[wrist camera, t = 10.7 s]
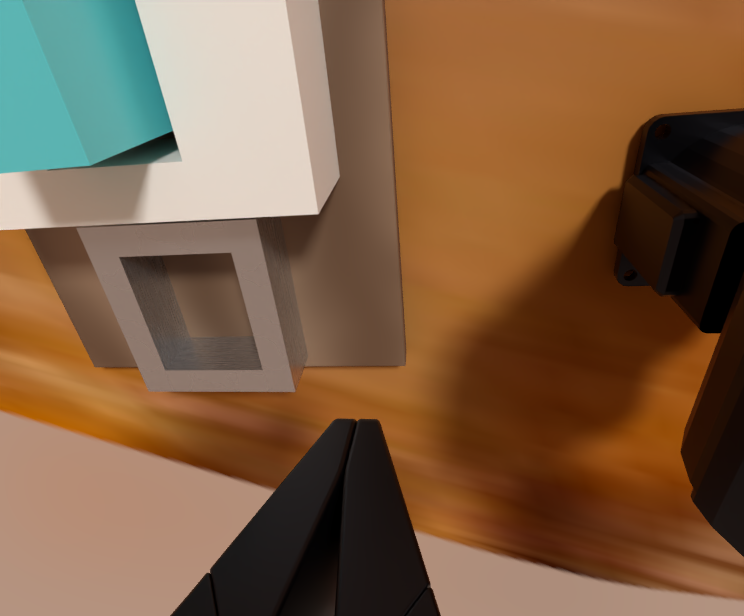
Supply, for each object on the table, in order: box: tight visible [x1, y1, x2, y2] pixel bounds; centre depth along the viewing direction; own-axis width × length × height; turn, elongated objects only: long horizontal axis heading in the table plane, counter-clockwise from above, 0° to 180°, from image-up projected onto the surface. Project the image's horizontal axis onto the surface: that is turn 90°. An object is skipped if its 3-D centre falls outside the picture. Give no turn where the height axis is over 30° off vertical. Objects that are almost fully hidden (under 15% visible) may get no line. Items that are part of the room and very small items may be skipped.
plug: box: [0, 0, 173, 174], centre depth 13 cm, size 3×4×7 cm
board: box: [25, 0, 406, 367], centre depth 18 cm, size 16×18×1 cm
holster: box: [76, 216, 308, 392], centre depth 19 cm, size 7×8×2 cm
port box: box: [0, 0, 340, 230], centre depth 14 cm, size 12×9×4 cm
